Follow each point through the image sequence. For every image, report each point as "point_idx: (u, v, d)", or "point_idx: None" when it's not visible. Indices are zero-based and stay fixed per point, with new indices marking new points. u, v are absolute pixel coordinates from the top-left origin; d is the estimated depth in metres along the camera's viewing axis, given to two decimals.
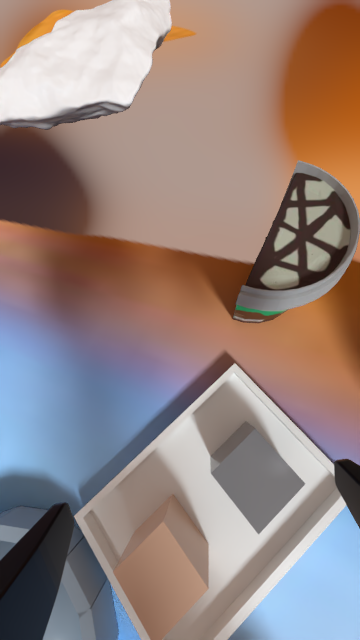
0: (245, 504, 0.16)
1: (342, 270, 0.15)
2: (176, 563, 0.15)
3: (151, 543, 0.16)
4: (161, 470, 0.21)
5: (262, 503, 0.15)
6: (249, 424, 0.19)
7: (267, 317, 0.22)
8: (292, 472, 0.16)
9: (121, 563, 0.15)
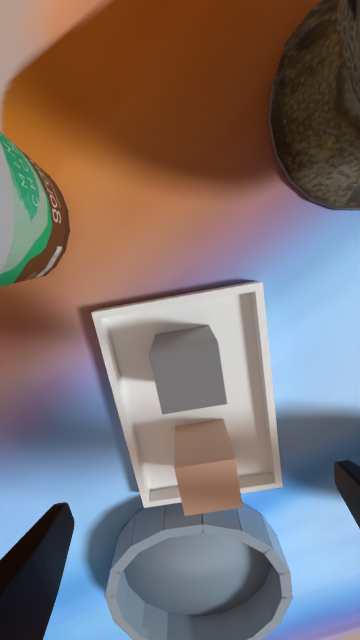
0: (201, 401, 0.15)
1: None
2: (206, 472, 0.17)
3: (183, 483, 0.17)
4: (153, 426, 0.21)
5: (209, 387, 0.15)
6: None
7: (53, 243, 0.16)
8: (203, 346, 0.15)
9: (183, 507, 0.18)
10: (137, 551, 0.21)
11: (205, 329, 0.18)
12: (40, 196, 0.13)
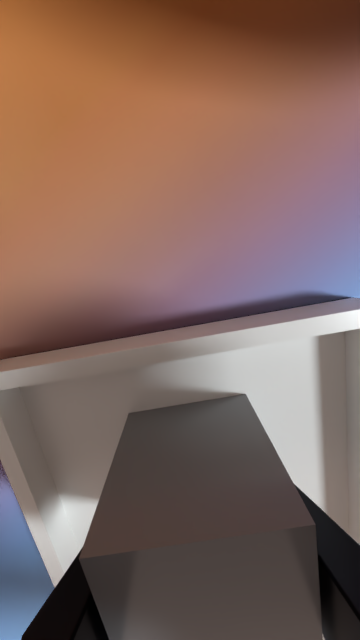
0: None
1: None
2: None
3: None
4: None
5: (274, 639, 0.05)
6: (113, 461, 0.07)
7: None
8: (263, 538, 0.04)
9: None
10: None
11: (242, 416, 0.07)
12: None
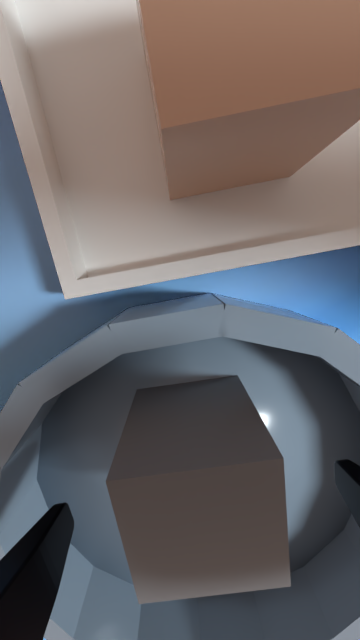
0: (231, 579, 0.07)
1: None
2: None
3: None
4: (83, 54, 0.08)
5: (252, 553, 0.06)
6: (126, 422, 0.08)
7: None
8: (244, 468, 0.06)
9: (155, 86, 0.04)
10: (39, 400, 0.07)
11: (234, 391, 0.09)
12: None
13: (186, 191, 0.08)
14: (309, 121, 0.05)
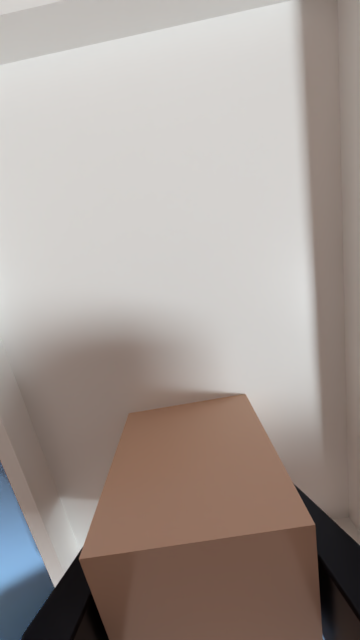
0: None
1: None
2: (202, 572, 0.04)
3: (118, 608, 0.05)
4: (75, 414, 0.09)
5: None
6: None
7: None
8: None
9: None
10: None
11: None
12: None
13: None
14: None
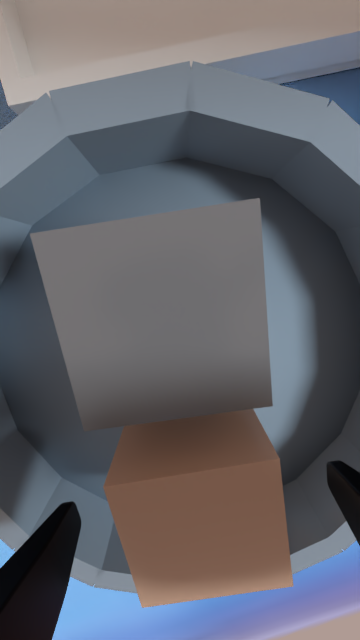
0: (197, 395, 0.05)
1: None
2: (196, 497, 0.06)
3: (132, 527, 0.06)
4: None
5: (223, 353, 0.05)
6: None
7: None
8: (209, 213, 0.04)
9: (138, 587, 0.07)
10: None
11: None
12: None
13: None
14: None
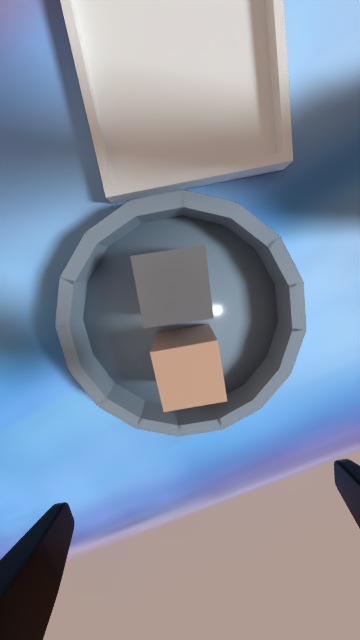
0: (186, 313, 0.14)
1: None
2: (186, 357, 0.15)
3: (160, 371, 0.15)
4: (116, 72, 0.15)
5: (194, 297, 0.14)
6: None
7: None
8: (189, 249, 0.14)
9: (162, 402, 0.16)
10: (95, 241, 0.15)
11: None
12: None
13: None
14: None
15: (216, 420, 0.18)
